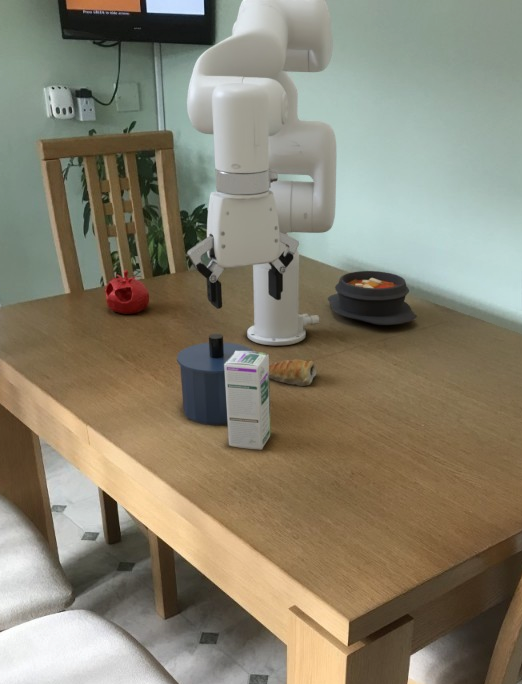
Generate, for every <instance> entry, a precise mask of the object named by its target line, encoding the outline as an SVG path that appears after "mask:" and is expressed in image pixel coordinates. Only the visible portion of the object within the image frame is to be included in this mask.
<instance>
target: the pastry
mask: <svg viewBox="0 0 522 684" xmlns="http://www.w3.org/2000/svg"><path fill="white" fill-rule="evenodd" d="M316 375H317V369H316V364H315V362H314V361H313V360H310V361H308V360H303V359H298V358H295V359H292V360H289V359H287V360H281V361H280V362H273V363H272V364H269V379H271V380H274V381H276V382H280V383H282V384H283V383H284V384H287V385H291V386H292V385H296V386H299V387H306V386H310V385H311V384H312V382H313V379H314V378H315V377H316Z"/></svg>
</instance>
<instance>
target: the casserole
mask: <svg viewBox="0 0 522 684" xmlns="http://www.w3.org/2000/svg"><path fill="white" fill-rule="evenodd" d="M334 289H335V291H336V292H337V293H334V294H331V295H329V296H328V297H327V301H328V302H329V303H330V307H331V308H330V309H331V310H332V311H333V312H334V313H336V314H338V315H340V316H342V317H345V318H347V319H351V320H354V321H357V322H363V323H368V324H372V325H375V326H376V325H377V326H396V325H402V324H406V323H410V322H412V321H414V320H416V319H417V314H416V313H414V312H413V309H412V308H411V305H410V304H408V303H407V301H405V300H406V296H407V295H408V294H409V293H410V289H409V287H408V286H407V282H406V280H405V278H404V277H402V276H401V275H397V274H395V273H390V272H385V271H379V270H377V271H376V270H362V271H359V270H358V271H352V272H348V273H345V274H343V275H342V276H341V277H340V278H339V281H338V283H337V284H336V285H335V287H334Z"/></svg>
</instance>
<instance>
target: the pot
mask: <svg viewBox="0 0 522 684" xmlns="http://www.w3.org/2000/svg"><path fill="white" fill-rule="evenodd" d="M179 366H180V365H179ZM179 368H180V379H181V391H182V392H181V393H182V395H181V396H182V407H183V413H184V415H185V416H186V417H187V419H189V420H190V421H193V422H195V423H198V424H203V425H211V426H222V425H223V426H224V425H228V420H227V404H226V386H225V373H221V374H209V373H200V372H194V371H191V370H188V369H185V368H183V367H182V366H180V367H179Z"/></svg>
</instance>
